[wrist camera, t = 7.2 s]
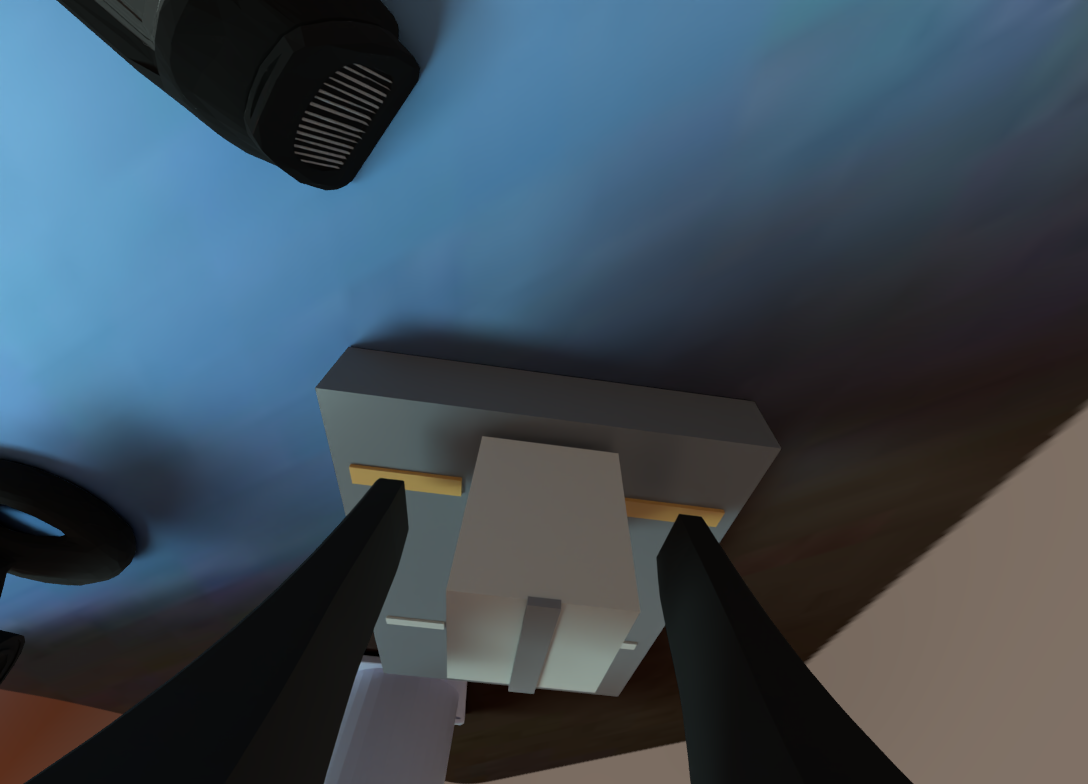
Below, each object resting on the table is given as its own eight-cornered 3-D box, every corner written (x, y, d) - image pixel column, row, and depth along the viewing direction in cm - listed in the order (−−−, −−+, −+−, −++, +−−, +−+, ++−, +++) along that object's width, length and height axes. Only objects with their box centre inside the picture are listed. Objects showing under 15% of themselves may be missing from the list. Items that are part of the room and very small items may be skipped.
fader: (587, 544, 13) (595, 699, 10) (476, 531, 13) (445, 685, 10) (619, 451, 11) (642, 618, 7) (482, 434, 11) (444, 596, 7)
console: (614, 654, 23) (618, 699, 22) (396, 631, 23) (382, 675, 21) (753, 401, 13) (783, 451, 11) (348, 346, 12) (312, 390, 10)
